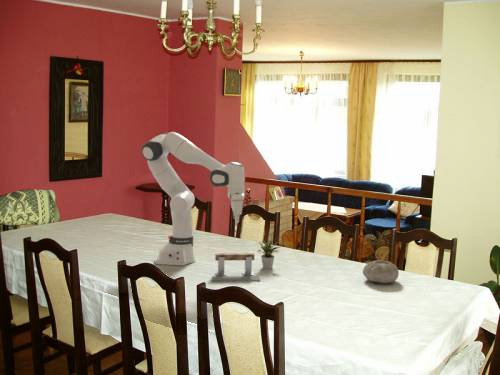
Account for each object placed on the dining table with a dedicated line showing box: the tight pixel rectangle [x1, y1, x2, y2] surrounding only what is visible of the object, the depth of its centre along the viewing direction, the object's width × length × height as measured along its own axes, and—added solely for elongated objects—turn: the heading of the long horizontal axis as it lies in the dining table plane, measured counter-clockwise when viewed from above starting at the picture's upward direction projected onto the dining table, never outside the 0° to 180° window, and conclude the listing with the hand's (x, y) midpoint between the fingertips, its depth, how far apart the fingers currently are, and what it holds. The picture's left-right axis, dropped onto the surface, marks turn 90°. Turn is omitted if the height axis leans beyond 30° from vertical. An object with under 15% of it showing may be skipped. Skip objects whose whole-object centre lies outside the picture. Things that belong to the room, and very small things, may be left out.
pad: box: [211, 275, 261, 283], centre depth 302 cm, size 24×7×1 cm, turn 96°
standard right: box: [242, 257, 255, 276], centre depth 310 cm, size 5×6×10 cm
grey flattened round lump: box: [362, 259, 400, 284], centre depth 303 cm, size 18×18×10 cm
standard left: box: [215, 257, 227, 276], centre depth 308 cm, size 5×6×10 cm
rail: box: [214, 252, 255, 262], centre depth 309 cm, size 20×3×3 cm, turn 96°
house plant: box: [257, 237, 282, 270], centre depth 322 cm, size 14×14×16 cm
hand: (236, 220), depth 309 cm, fingers open, 8 cm apart
